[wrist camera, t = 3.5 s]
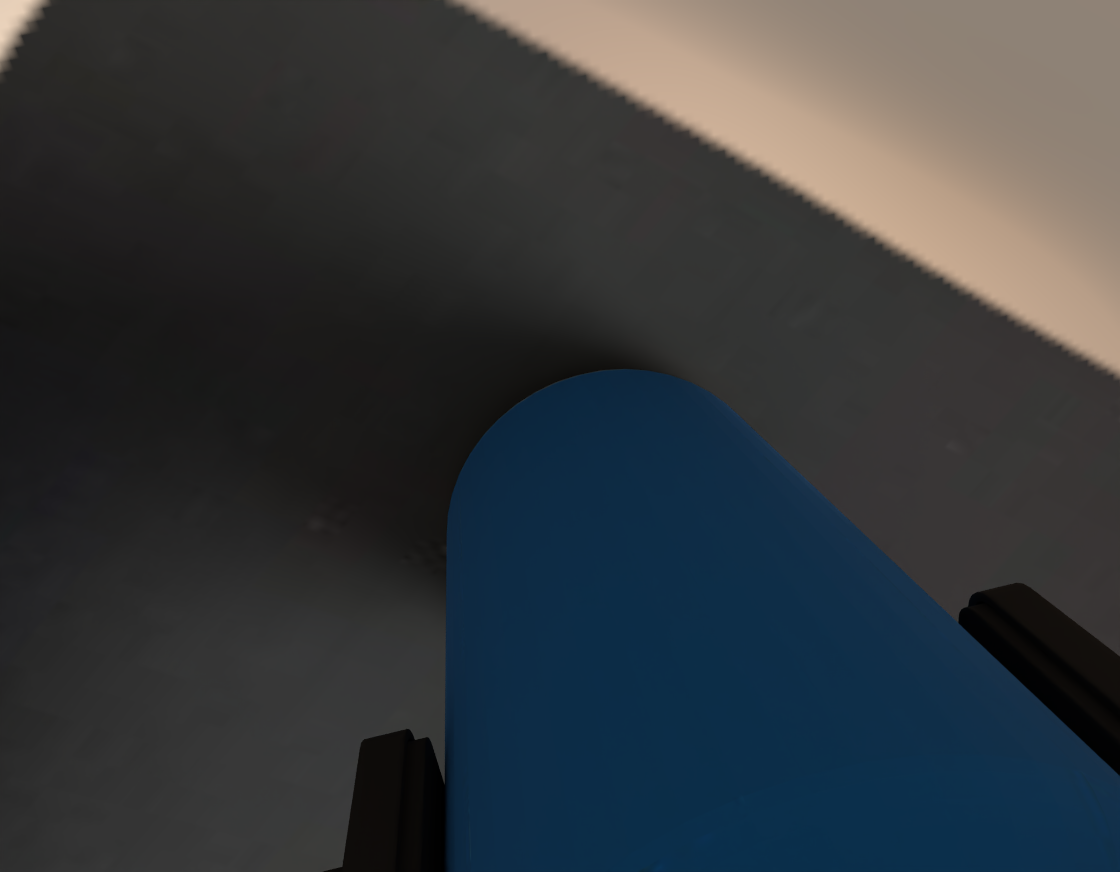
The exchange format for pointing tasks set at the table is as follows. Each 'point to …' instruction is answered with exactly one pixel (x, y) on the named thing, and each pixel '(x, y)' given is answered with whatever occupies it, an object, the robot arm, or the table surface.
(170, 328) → the table surface
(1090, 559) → the table surface
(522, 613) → the beverage can
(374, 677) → the table surface
